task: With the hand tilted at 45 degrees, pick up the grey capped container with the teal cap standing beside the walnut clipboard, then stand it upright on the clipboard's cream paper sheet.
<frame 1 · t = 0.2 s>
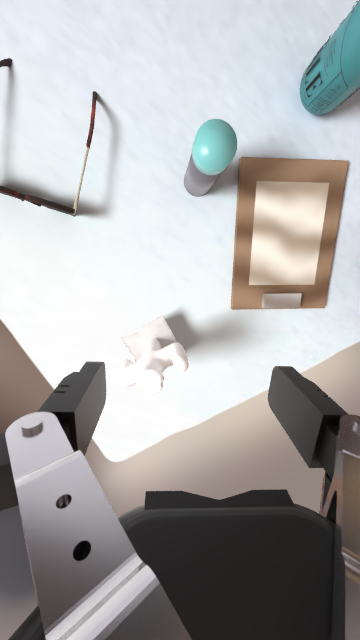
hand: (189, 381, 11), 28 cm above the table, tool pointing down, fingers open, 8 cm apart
beverage bottle: (312, 96, 33), on the table
clipboard: (284, 239, 38), on the table
grey capped container: (197, 181, 35), on the table
figurine: (153, 337, 41), on the table
sunglasses: (46, 146, 33), on the table
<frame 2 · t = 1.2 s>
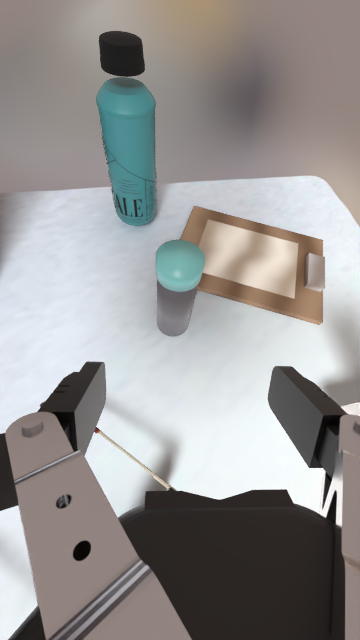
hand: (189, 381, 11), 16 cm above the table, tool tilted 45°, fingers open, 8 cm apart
beverage bottle: (137, 221, 39), on the table
clipboard: (248, 260, 37), on the table
grey capped container: (172, 322, 31), on the table
sunglasses: (62, 504, 22), on the table
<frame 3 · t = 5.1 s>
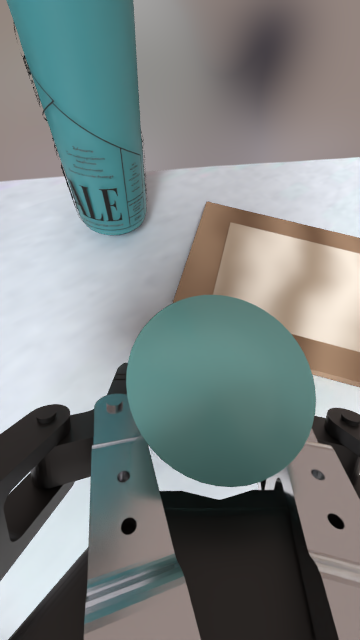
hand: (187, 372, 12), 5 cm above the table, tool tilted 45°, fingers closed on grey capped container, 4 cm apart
beverage bottle: (116, 228, 24), on the table
clipboard: (303, 289, 22), on the table
grey capped container: (180, 423, 16), on the table, touching gripper
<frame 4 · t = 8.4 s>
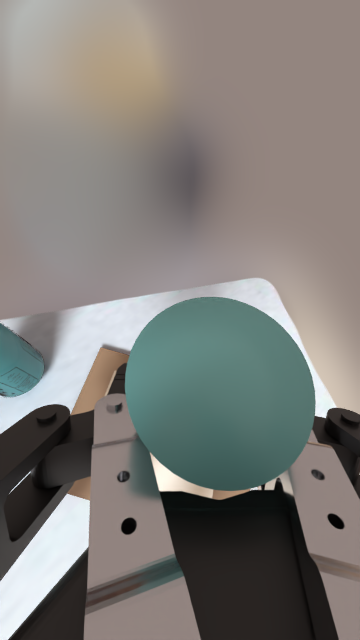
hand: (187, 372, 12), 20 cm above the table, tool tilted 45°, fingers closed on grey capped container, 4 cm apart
beverage bottle: (25, 376, 31), on the table
clipboard: (161, 432, 29), on the table
grey capped container: (180, 424, 16), point 15 cm above the table, touching gripper
when the fingers open (7 cm above the table, at t = 11.9 s): grey capped container drops 1 cm, resting on clipboard.
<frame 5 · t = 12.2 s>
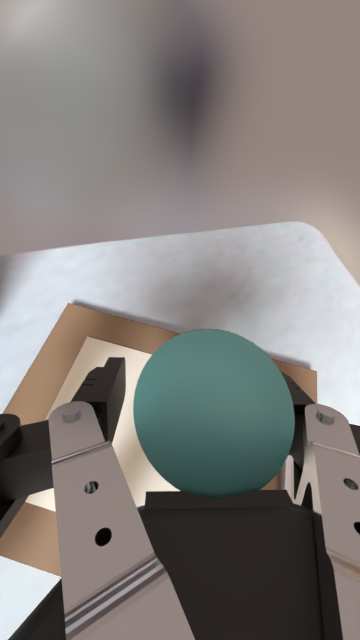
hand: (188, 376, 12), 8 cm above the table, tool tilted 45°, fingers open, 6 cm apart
clipboard: (160, 436, 17), on the table
grey capped container: (180, 427, 17), point 1 cm above the table, touching clipboard
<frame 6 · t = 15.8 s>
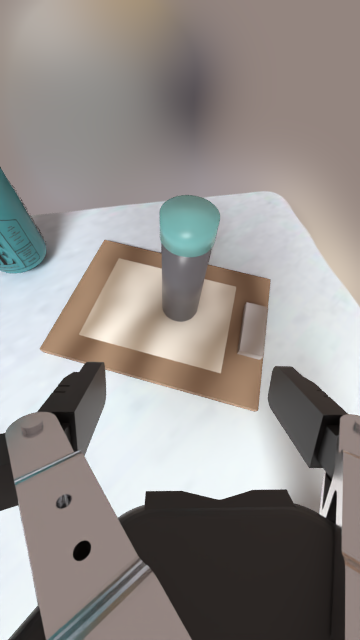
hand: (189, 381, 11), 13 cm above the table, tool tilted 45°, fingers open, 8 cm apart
beverage bottle: (27, 264, 30), on the table
clipboard: (167, 313, 28), on the table
grey capped container: (179, 306, 27), point 1 cm above the table, touching clipboard
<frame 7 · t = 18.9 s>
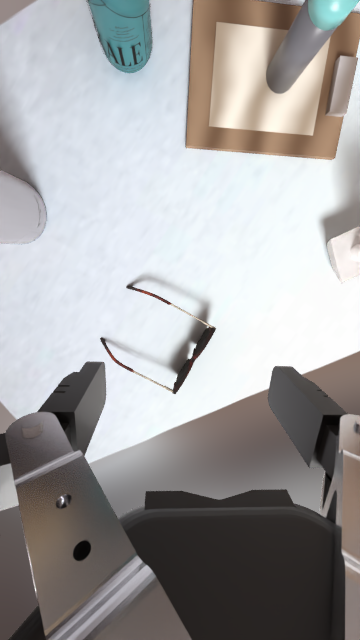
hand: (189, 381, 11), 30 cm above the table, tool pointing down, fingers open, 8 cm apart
beverage bottle: (129, 54, 31), on the table
clipboard: (268, 86, 33), on the table
grey capped container: (280, 75, 32), point 1 cm above the table, touching clipboard
figurine: (340, 251, 40), on the table
sunglasses: (154, 332, 43), on the table
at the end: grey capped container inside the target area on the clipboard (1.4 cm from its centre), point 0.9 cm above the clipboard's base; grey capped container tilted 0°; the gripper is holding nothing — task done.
